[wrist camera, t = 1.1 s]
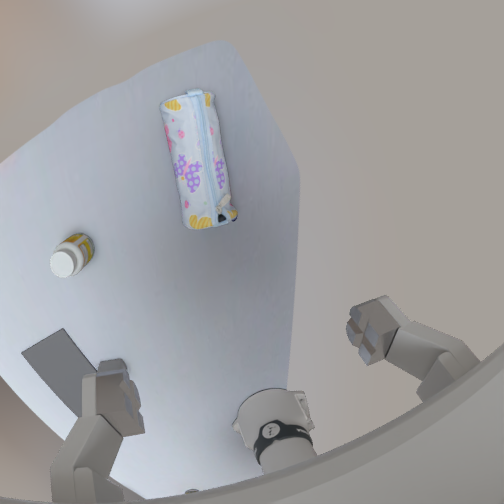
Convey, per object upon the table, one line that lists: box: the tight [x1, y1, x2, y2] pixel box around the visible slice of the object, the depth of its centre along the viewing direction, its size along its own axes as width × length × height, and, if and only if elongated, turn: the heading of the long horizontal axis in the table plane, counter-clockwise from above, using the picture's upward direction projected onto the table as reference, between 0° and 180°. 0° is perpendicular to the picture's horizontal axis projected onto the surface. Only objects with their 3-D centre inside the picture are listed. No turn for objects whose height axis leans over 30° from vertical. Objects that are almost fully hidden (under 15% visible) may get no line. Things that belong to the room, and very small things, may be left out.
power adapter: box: [97, 359, 127, 373], centre depth 50 cm, size 3×5×12 cm, turn 99°
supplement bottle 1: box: [50, 234, 94, 278], centre depth 44 cm, size 6×6×10 cm
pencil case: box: [160, 88, 238, 230], centre depth 45 cm, size 21×9×10 cm, turn 11°
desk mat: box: [21, 328, 97, 417], centre depth 55 cm, size 24×14×1 cm, turn 26°
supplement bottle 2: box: [185, 490, 199, 494], centre depth 68 cm, size 5×5×8 cm
